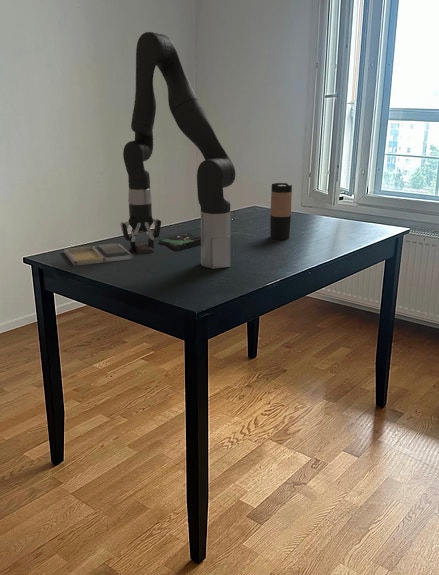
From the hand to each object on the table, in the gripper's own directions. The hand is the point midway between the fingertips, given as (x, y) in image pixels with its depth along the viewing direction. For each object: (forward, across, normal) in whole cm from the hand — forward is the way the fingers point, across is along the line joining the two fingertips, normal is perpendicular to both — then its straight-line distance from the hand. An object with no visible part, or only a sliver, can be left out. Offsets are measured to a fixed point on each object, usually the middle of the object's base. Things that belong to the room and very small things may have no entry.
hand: (142, 250), depth 200 cm
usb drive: (+1, 0, 0) cm, 1 cm away
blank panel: (-1, -11, -2) cm, 11 cm away
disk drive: (+1, +17, +4) cm, 17 cm away
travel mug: (+1, +54, -1) cm, 54 cm away
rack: (0, -16, -2) cm, 16 cm away
